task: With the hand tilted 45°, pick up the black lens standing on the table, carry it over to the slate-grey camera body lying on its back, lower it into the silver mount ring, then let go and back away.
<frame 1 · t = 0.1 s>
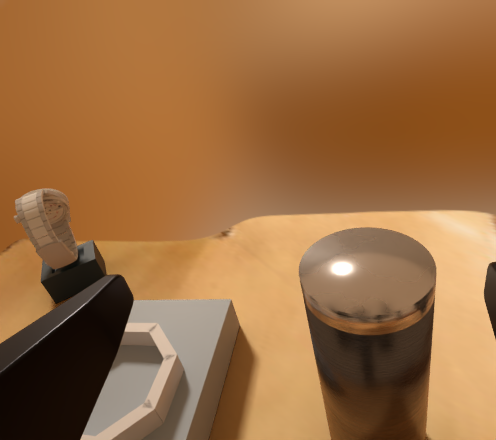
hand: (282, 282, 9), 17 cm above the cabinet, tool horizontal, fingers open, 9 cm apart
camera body: (133, 415, 25), on the cabinet
lens: (375, 438, 21), on the cabinet
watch: (81, 281, 41), on the cabinet
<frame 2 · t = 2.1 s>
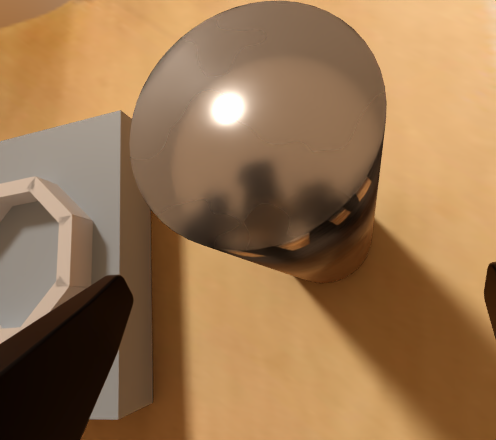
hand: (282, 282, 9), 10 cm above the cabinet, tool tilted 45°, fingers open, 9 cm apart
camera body: (68, 266, 23), on the cabinet
lens: (321, 234, 19), on the cabinet
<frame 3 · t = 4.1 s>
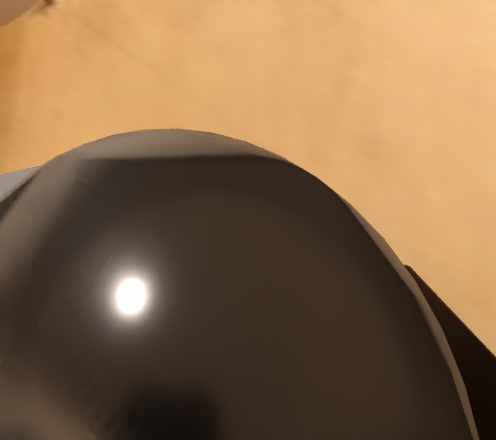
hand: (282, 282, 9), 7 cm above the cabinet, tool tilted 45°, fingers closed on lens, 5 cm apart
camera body: (12, 342, 19), on the cabinet
lens: (316, 322, 15), on the cabinet, touching gripper
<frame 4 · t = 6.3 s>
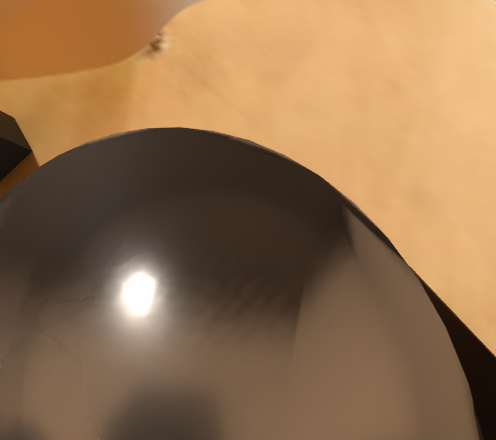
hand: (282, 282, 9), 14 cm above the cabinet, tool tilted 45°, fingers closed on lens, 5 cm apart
lens: (317, 322, 15), point 7 cm above the cabinet, touching gripper
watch: (2, 155, 32), on the cabinet
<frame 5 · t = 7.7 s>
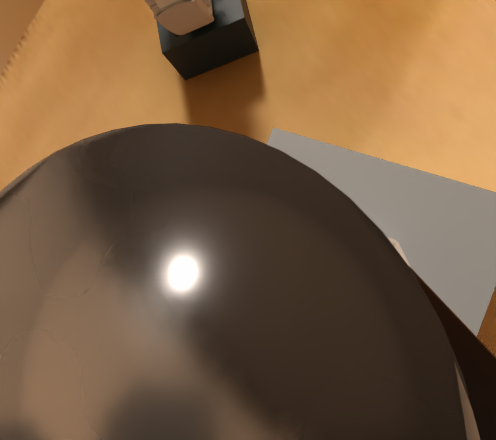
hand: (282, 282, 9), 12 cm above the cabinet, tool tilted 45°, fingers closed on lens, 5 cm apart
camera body: (328, 313, 20), on the cabinet
lens: (316, 321, 15), point 5 cm above the cabinet, touching gripper
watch: (215, 40, 26), on the cabinet
when the fingers open (10 cm above the cabinet, at t = 8.7 s): lens stays where it is, resting on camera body.
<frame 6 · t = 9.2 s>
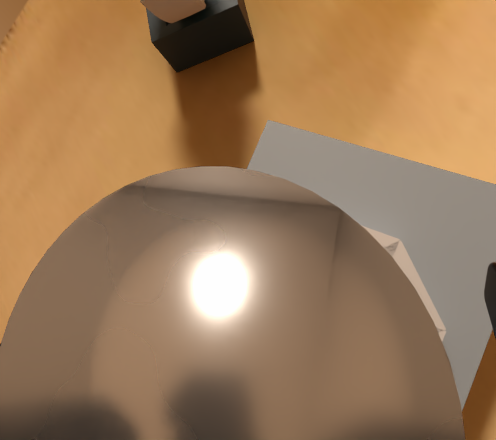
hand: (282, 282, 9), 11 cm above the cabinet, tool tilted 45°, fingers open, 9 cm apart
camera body: (326, 317, 19), on the cabinet
lens: (319, 322, 16), point 3 cm above the cabinet, touching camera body
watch: (208, 31, 25), on the cabinet
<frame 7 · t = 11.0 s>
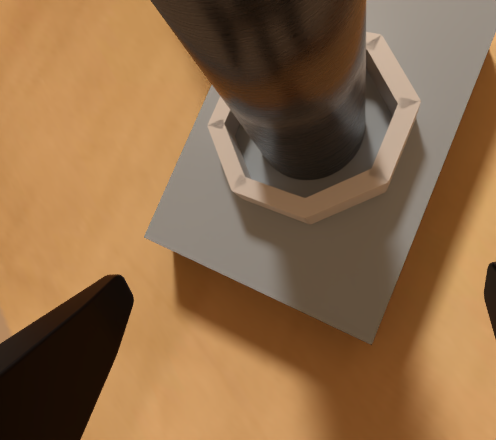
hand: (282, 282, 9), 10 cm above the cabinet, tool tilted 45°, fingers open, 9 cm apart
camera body: (317, 151, 20), on the cabinet
lens: (310, 129, 17), point 3 cm above the cabinet, touching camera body
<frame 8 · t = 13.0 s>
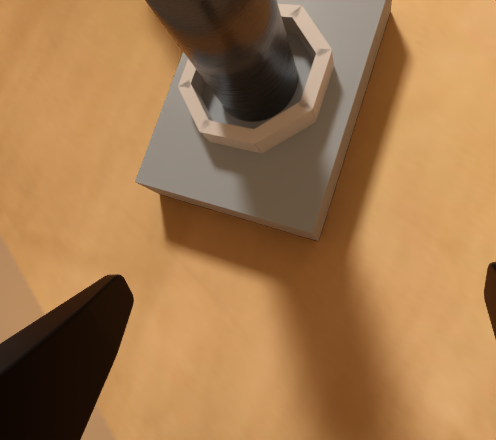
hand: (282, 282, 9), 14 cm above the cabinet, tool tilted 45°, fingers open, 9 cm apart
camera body: (269, 106, 25), on the cabinet
lens: (257, 83, 23), point 3 cm above the cabinet, touching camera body
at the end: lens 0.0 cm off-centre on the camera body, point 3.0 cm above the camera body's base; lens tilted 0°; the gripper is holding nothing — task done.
